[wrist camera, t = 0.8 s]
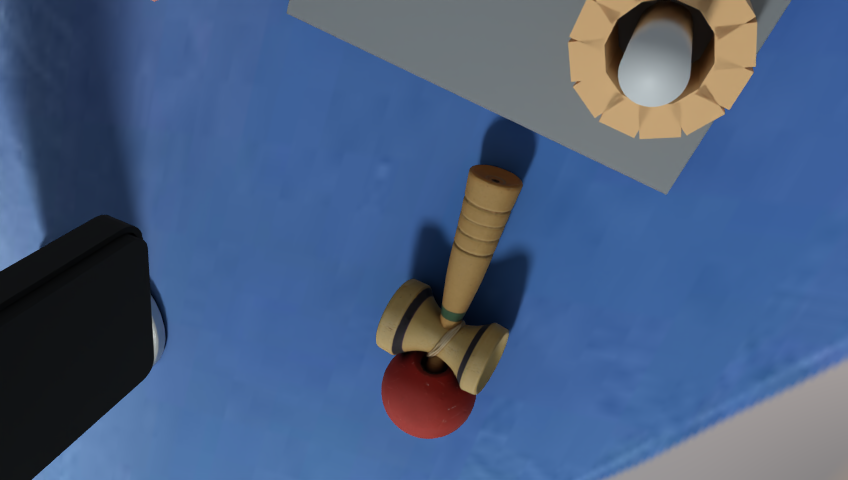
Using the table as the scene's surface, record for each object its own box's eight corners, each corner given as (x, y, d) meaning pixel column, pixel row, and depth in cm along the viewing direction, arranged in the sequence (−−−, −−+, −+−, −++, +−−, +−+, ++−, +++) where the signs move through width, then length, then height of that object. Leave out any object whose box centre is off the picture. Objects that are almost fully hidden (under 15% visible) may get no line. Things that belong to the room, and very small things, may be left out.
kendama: (432, 136, 39) (368, 381, 47) (415, 168, 33) (346, 441, 41) (560, 173, 39) (475, 412, 46) (566, 211, 33) (468, 478, 41)
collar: (694, 127, 31) (692, 165, 27) (562, 66, 32) (541, 95, 28) (783, -15, 28) (797, 5, 24) (631, -80, 28) (619, -72, 24)
